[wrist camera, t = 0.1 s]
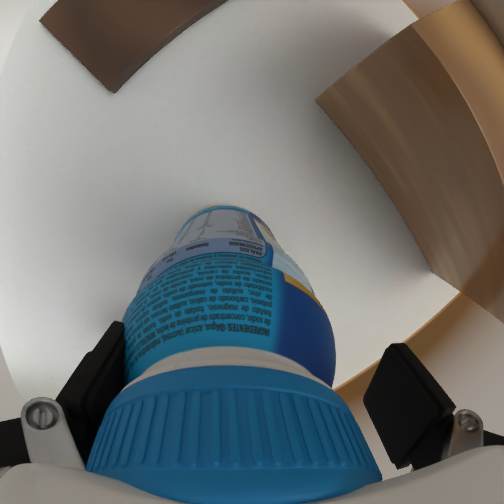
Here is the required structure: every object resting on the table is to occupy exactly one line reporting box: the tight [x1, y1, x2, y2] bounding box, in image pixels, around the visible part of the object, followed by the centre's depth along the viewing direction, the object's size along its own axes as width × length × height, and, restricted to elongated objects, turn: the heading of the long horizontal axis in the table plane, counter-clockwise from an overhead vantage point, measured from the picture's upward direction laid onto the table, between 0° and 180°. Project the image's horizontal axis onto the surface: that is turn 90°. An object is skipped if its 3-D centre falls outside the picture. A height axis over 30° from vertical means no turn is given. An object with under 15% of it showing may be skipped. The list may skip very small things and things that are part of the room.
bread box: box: [315, 0, 504, 323], centre depth 14 cm, size 12×20×14 cm, turn 42°
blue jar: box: [86, 206, 382, 504], centre depth 13 cm, size 8×8×20 cm
